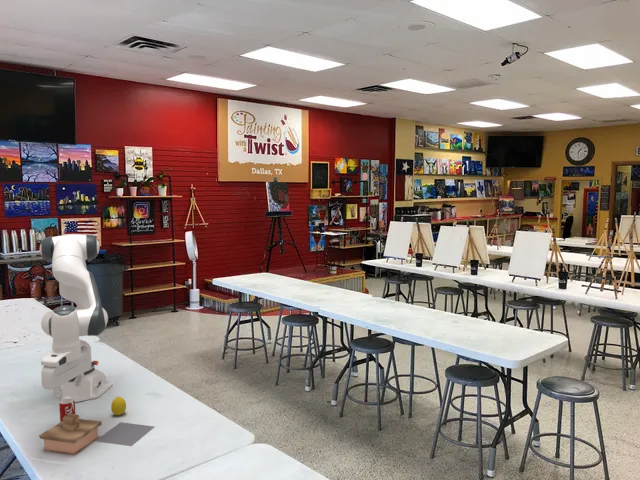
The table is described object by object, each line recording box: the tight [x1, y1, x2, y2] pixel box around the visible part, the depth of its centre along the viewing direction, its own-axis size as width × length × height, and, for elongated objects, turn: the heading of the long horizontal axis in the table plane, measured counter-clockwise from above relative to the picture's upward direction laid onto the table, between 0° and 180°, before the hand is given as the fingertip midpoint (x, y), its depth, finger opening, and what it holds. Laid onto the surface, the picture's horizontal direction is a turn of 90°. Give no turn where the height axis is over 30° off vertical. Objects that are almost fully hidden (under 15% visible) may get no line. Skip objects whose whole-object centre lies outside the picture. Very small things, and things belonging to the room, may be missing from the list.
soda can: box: [58, 397, 76, 423], centre depth 190 cm, size 5×5×12 cm
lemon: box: [110, 396, 127, 416], centre depth 202 cm, size 6×6×8 cm
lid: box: [38, 413, 103, 444], centre depth 179 cm, size 14×14×6 cm
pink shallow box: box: [43, 428, 99, 456], centre depth 180 cm, size 12×12×5 cm
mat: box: [94, 422, 156, 447], centre depth 187 cm, size 15×15×1 cm
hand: (69, 391), depth 178 cm, fingers open, 8 cm apart
